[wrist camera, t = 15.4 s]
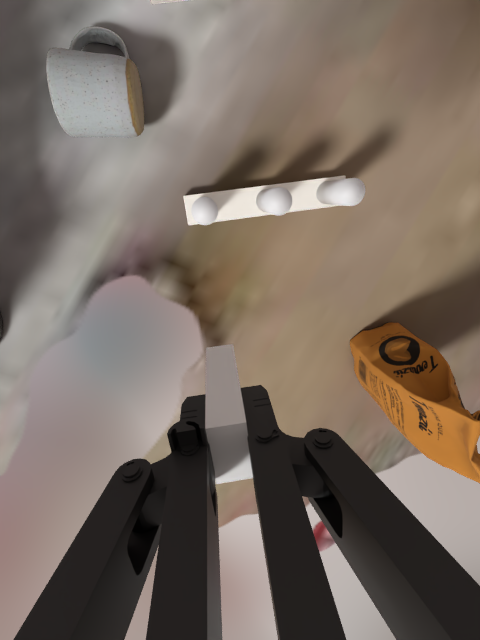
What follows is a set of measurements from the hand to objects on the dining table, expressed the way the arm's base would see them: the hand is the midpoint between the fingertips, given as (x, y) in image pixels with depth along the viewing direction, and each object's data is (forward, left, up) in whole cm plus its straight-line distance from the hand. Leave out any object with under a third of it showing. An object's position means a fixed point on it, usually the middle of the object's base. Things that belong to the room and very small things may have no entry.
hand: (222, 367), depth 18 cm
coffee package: (+25, -19, -30) cm, 43 cm away
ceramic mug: (-9, +21, -30) cm, 38 cm away
